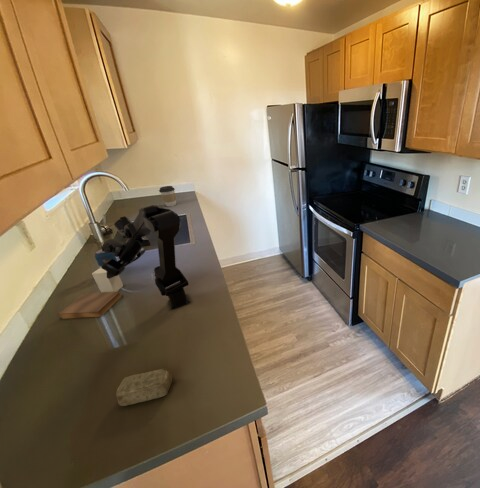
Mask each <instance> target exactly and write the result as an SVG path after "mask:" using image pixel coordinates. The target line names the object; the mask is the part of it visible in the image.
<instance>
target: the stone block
mask: <svg viewBox="0 0 480 488" xmlns="http://www.w3.org/2000/svg"><path fill="white" fill-rule="evenodd" d="M171 373H172V372H171V371H170V370H169V369H168V368H164V367H163V368H159V369H153V370H150V371H146V372H142V373H134V374H131V375H127V376H125V377H124V378H123V379H122V380H121V382H120V384H119V386H118V387H117V390H116V392H115V396H116V399H117V403H118V406H120V407H126V406H130V405H135V404H139V403H143V402H149V401H152V400H156V399H160V398H162V397H165V396H166V395H168V393H169V390H170V387H171V386H172V382H173V375H172V374H171Z"/></svg>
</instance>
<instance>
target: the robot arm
mask: <svg viewBox="0 0 480 488" xmlns="http://www.w3.org/2000/svg"><path fill="white" fill-rule="evenodd" d="M113 227H114V228H115V229H116V230H117V231H118V233H119V234H120V236H121V237H122V238H123V239H126V241H125V242H123V241H121V240H118V239H114V238H108V239H107V240H106V241H104V242H103V244H102V245H101V248H100V249H102V251H103V252H107V253H110V252H112V253H114V256H115V257H116V258H118V259H119V260H117V261H115V260H114V259H109V260H107V261H106V262H104V263H103V264H102V266H101V268H102V269H104V270H105V271H107V278H108V279H110V278H112V277H114V276H118V275H119V276H120V274H122V273H123V272H124V270H126V267H127V266H128V265H131V264H132V263H134V262H135V261H137V260H138V259H140V258H141V257H142V256H143V255H144V254H145V253H146V249H145V248H143V247H151V242H150V239H149V238H147V236H149V235H150V234H151V233H153V234H154V236H156V238H157V239H156V241H157V249H158V250H157V251H158V260H159V265H158V266H156V267H154V269H153V271H154V277H155V278H154V284H155V286H156V287H157V289H158V291H159V292H160V294H161V296H163V297H164V296H166V297H168V303H169V306H170V309H171V310H174V309H177V308H180V307H182V306H184V305H187V304H190V303H191V301H190V299H189V297H188V295H187V293H186V291H185V287H188V286H189V281H188V279H187V278H186V276H185V275H184V274H183V272H182V271H181V270H180V268H178V267H177V264H176V263H177V262H176V245H175V244H176V243H175V237H176V236H177V235H178V233H179V232H180V228H181V217H180V216H179V214H178V213H177V212H175V211H173V210H172V209H170V208H166V207H159V206H158V205H157V204H156V205H154V204H151V205H148V206H144V207H140V208H139V209H138V214H137V215H136V217H135V218H134V220H133V221H132V220H131V219H130V218H129V217H127V216H125V215H124V216H120V217H119V219H117V220H116V221H115V222H114V224H113Z"/></svg>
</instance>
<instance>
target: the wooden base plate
mask: <svg viewBox="0 0 480 488" xmlns="http://www.w3.org/2000/svg"><path fill="white" fill-rule="evenodd" d="M121 298H122V295H121V291H120V290H118V291H117V292H102V293H101V292H89V293H87V292H86V293H82V294H81V295H80V296H79V297H77V298H76V299H75V300H74V301H72V302H71V303H70V304H68V305H67V306H66V307H65V308H63V309H62V310H61V311H60V312H58V315H59V317H60V318H61V319H62V320H66V319H80V318H81V319H83V318H98V317H102V316H103V315H104V314H105V313H107V311H108V310H109V309H110V308H112V307H113V306H114V305H115V304H116V302H118V301H119V300H120V299H121Z"/></svg>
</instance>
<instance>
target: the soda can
mask: <svg viewBox="0 0 480 488" xmlns="http://www.w3.org/2000/svg"><path fill="white" fill-rule="evenodd" d="M114 254H115V253H112V252H110V253H107V252H103V251H102V248H99V249H97V250H95V251H94V259H95V260H96V263H97V265H98V267H99V268H100V267H101V266H102V264H103V263H104V262H106V261H107V260H109V259H114V260H115V261H118V259H117V257H116V256H114Z"/></svg>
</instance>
